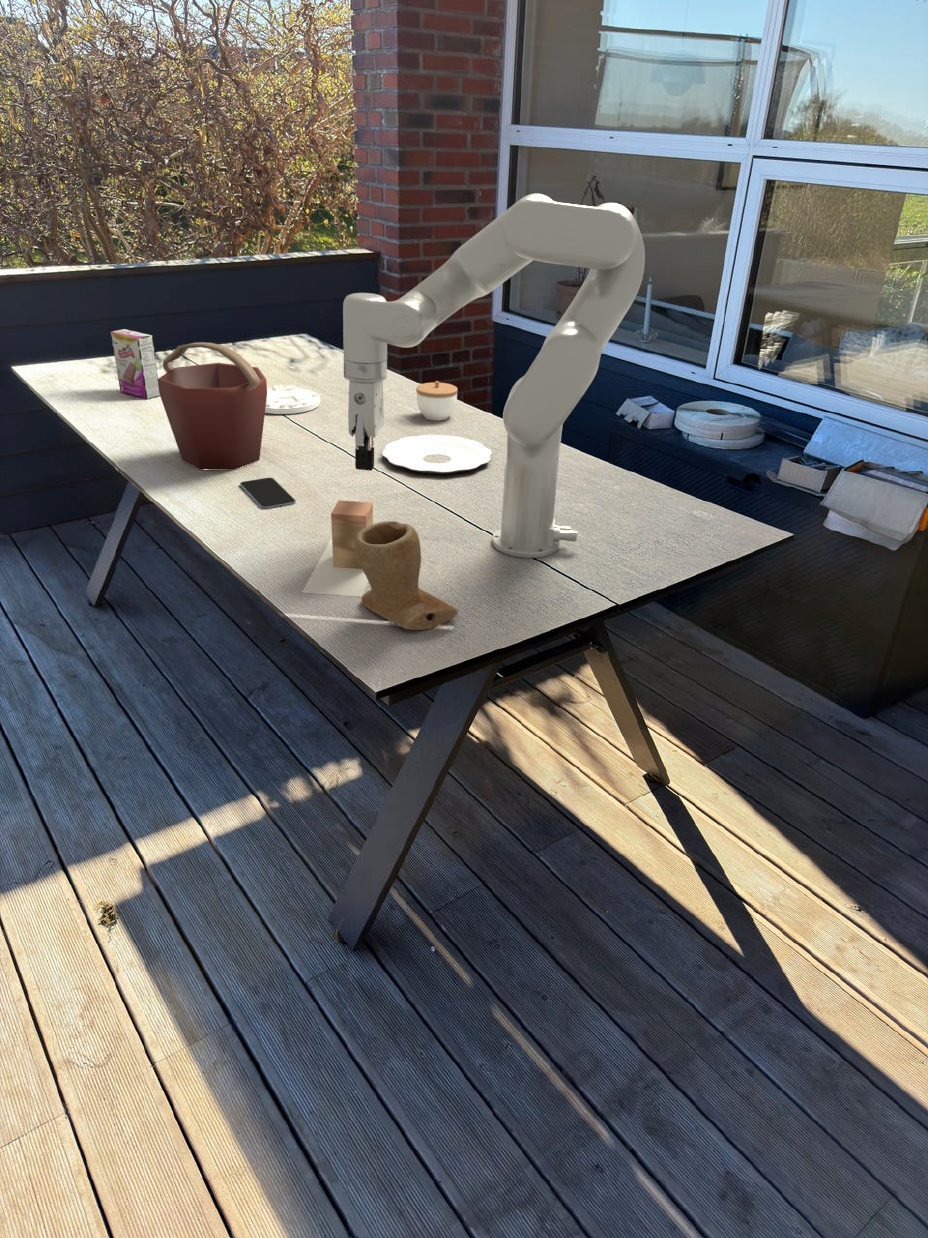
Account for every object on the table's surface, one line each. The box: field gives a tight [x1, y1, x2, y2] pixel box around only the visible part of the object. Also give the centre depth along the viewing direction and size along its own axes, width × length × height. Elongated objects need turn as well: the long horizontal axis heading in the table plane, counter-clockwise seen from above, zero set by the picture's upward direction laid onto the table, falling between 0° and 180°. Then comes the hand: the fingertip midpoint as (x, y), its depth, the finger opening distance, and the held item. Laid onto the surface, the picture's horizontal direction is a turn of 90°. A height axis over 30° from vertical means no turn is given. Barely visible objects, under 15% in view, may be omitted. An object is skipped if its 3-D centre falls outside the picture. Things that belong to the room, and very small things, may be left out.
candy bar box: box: [110, 328, 160, 400], centre depth 239 cm, size 11×5×16 cm, turn 58°
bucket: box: [157, 341, 268, 471], centre depth 196 cm, size 24×22×25 cm
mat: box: [301, 537, 369, 598], centre depth 156 cm, size 10×22×1 cm, turn 175°
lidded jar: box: [415, 380, 459, 422], centre depth 232 cm, size 11×11×9 cm
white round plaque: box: [265, 384, 321, 415], centre depth 239 cm, size 20×20×3 cm
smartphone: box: [239, 477, 296, 510], centre depth 184 cm, size 7×1×15 cm
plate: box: [381, 434, 493, 475], centre depth 206 cm, size 25×25×2 cm
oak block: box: [330, 500, 374, 569], centre depth 155 cm, size 6×6×10 cm
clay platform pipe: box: [355, 520, 459, 631], centre depth 138 cm, size 15×12×15 cm
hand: (364, 468), depth 165 cm, fingers closed
